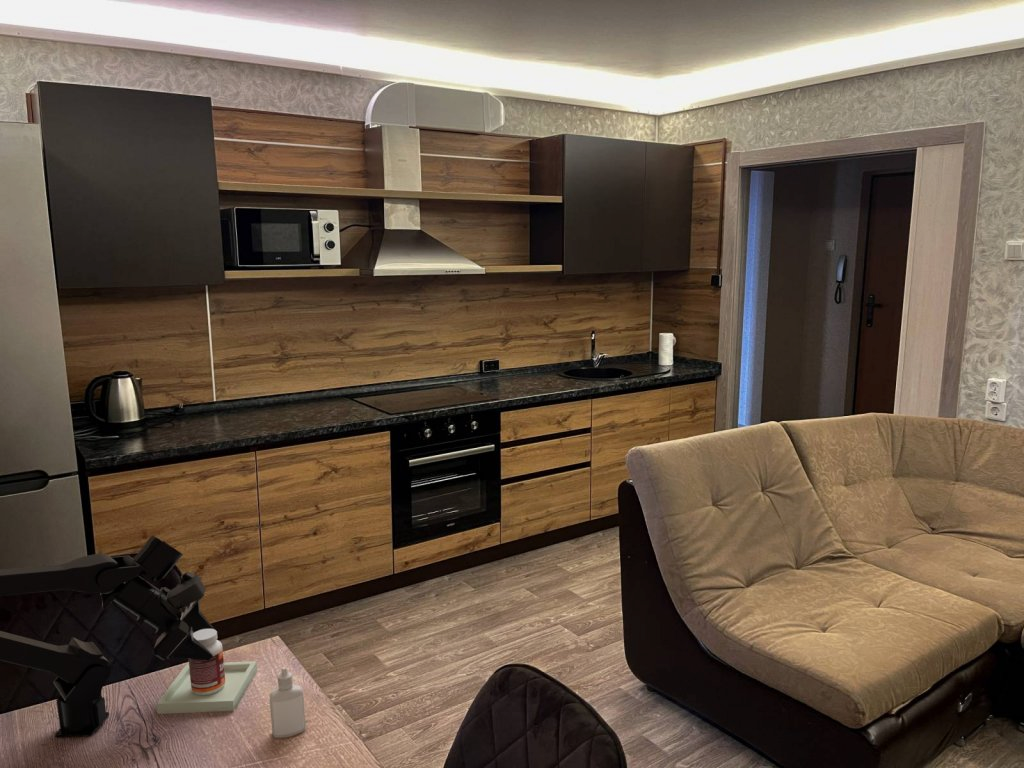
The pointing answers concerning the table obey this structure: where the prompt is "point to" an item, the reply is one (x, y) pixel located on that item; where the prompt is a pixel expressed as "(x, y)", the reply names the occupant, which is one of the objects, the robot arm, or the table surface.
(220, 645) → the pill bottle
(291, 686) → the eye dropper bottle
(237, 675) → the tray
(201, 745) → the table surface
